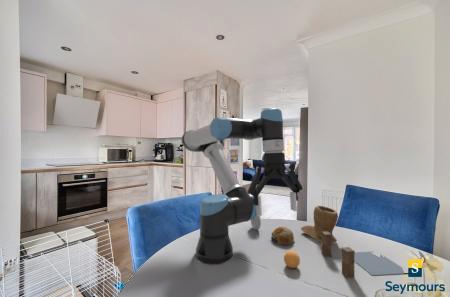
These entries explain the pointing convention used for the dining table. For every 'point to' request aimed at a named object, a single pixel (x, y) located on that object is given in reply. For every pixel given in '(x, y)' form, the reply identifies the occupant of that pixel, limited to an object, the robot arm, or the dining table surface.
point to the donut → (256, 222)
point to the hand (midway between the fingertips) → (276, 212)
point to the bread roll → (282, 236)
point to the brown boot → (322, 223)
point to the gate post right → (348, 262)
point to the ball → (291, 259)
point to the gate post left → (327, 244)
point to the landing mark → (377, 264)
